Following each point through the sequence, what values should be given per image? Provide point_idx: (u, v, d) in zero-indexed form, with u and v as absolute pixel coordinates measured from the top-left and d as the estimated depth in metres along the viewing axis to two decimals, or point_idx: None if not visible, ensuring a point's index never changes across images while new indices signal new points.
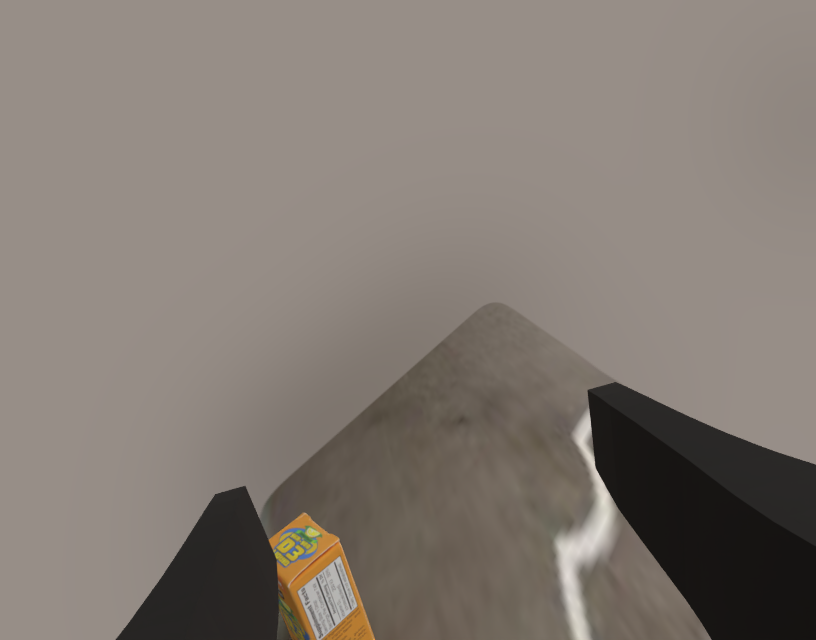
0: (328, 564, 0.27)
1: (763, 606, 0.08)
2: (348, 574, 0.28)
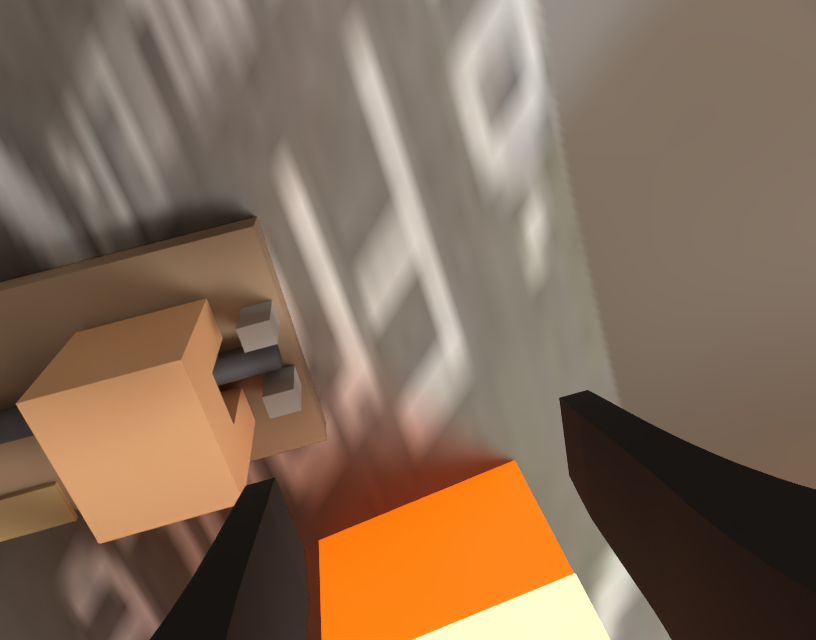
0: None
1: (720, 619, 0.08)
2: None
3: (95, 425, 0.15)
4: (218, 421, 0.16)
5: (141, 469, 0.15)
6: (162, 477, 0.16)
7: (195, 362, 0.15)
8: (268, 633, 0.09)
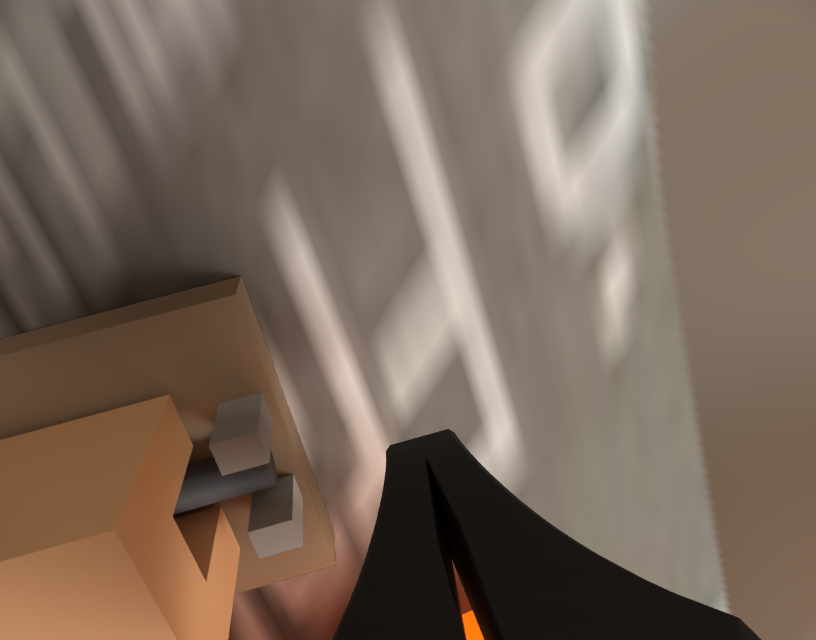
0: None
1: None
2: None
3: None
4: (179, 596, 0.11)
5: None
6: None
7: (142, 517, 0.10)
8: (449, 580, 0.09)
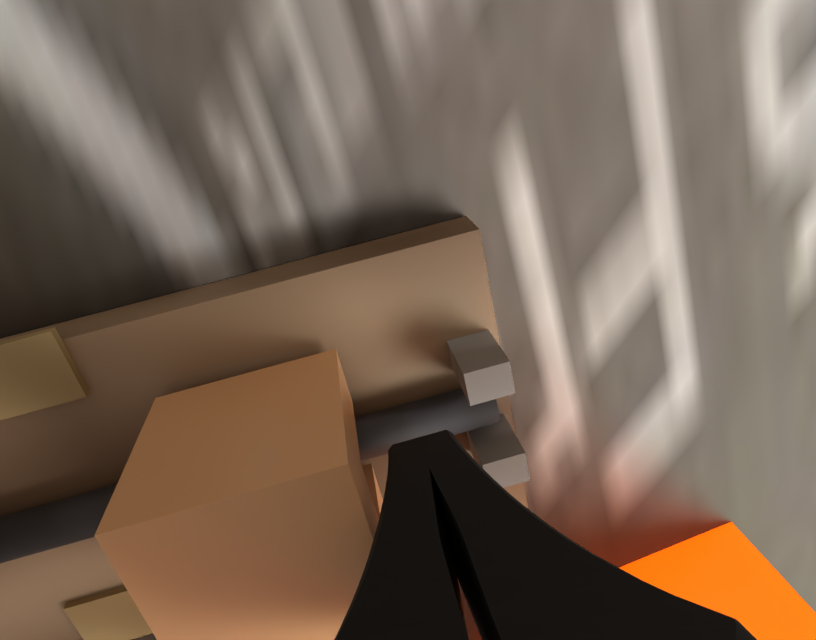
0: None
1: None
2: None
3: (211, 561, 0.10)
4: None
5: (273, 617, 0.10)
6: (302, 626, 0.11)
7: (353, 457, 0.10)
8: (452, 579, 0.09)
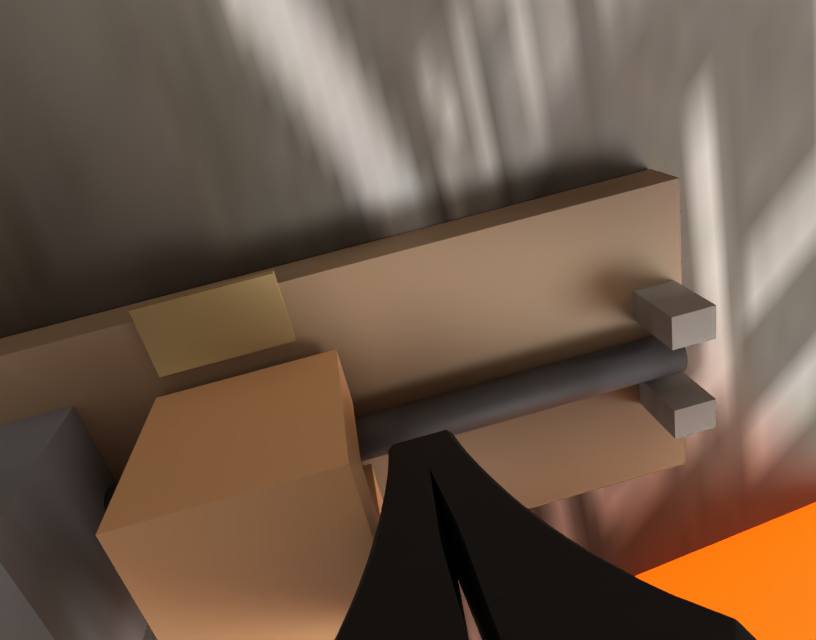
0: None
1: None
2: None
3: (212, 560, 0.10)
4: None
5: (273, 616, 0.10)
6: (302, 626, 0.11)
7: (353, 458, 0.10)
8: (452, 579, 0.09)
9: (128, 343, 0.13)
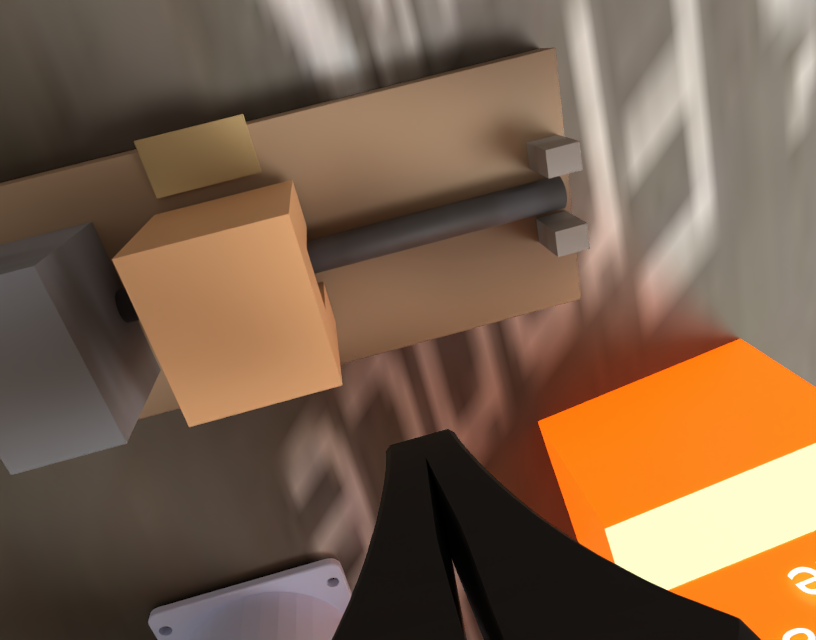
0: None
1: None
2: None
3: (193, 288, 0.14)
4: (317, 295, 0.15)
5: (238, 341, 0.14)
6: (260, 352, 0.15)
7: (296, 227, 0.14)
8: (449, 579, 0.09)
9: (133, 170, 0.17)
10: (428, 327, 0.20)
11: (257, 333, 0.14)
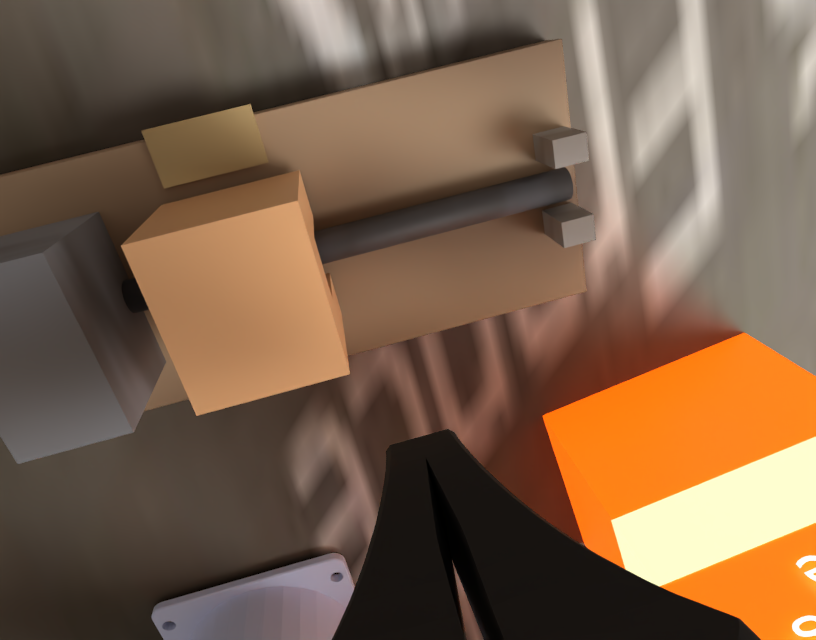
0: None
1: None
2: None
3: (202, 275, 0.14)
4: (325, 284, 0.15)
5: (246, 329, 0.14)
6: (268, 340, 0.15)
7: (304, 214, 0.14)
8: (449, 579, 0.09)
9: (140, 160, 0.17)
10: (434, 319, 0.20)
11: (265, 321, 0.14)
